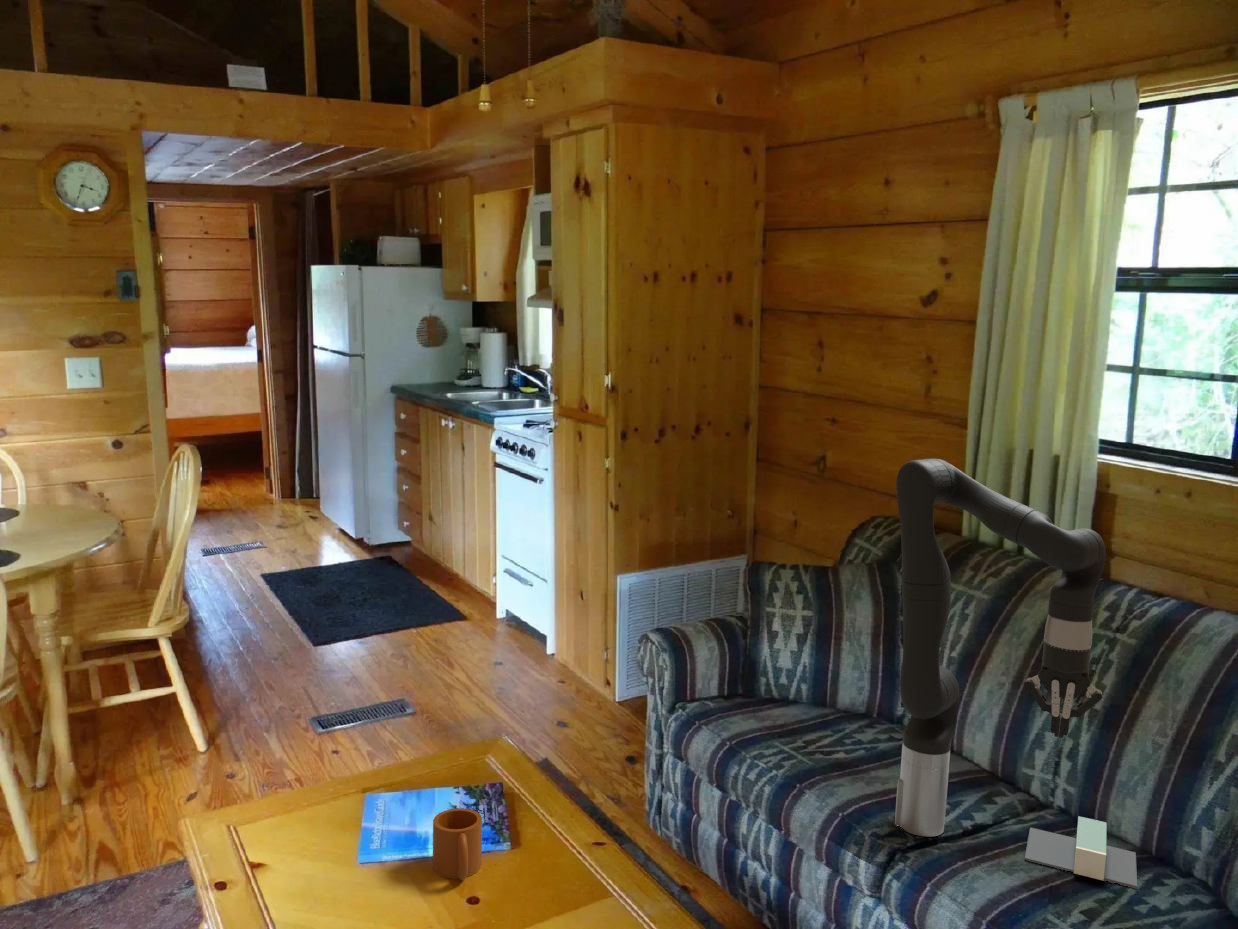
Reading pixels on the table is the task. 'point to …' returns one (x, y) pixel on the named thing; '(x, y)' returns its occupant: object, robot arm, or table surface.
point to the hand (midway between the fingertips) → (1058, 735)
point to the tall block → (1090, 848)
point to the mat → (1062, 856)
